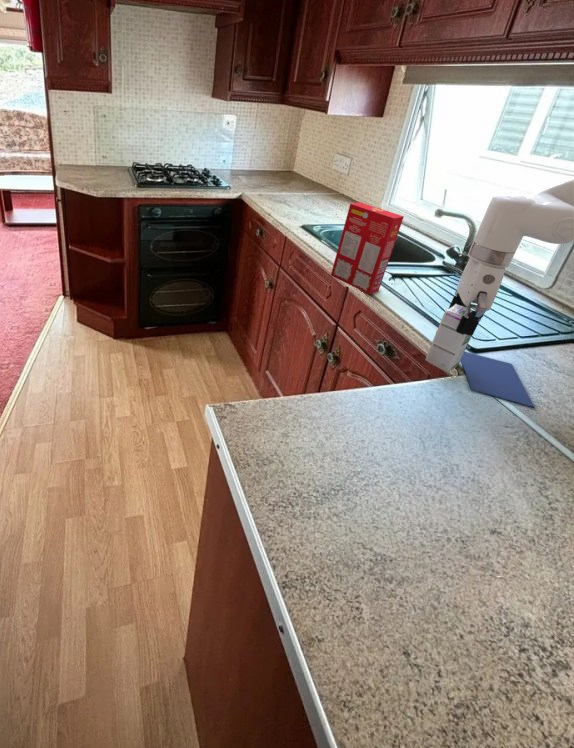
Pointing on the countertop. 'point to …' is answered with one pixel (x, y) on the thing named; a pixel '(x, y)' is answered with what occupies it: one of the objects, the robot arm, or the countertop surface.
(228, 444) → the countertop surface
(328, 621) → the countertop surface
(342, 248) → the food packaging
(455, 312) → the syrup box
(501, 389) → the cloth
